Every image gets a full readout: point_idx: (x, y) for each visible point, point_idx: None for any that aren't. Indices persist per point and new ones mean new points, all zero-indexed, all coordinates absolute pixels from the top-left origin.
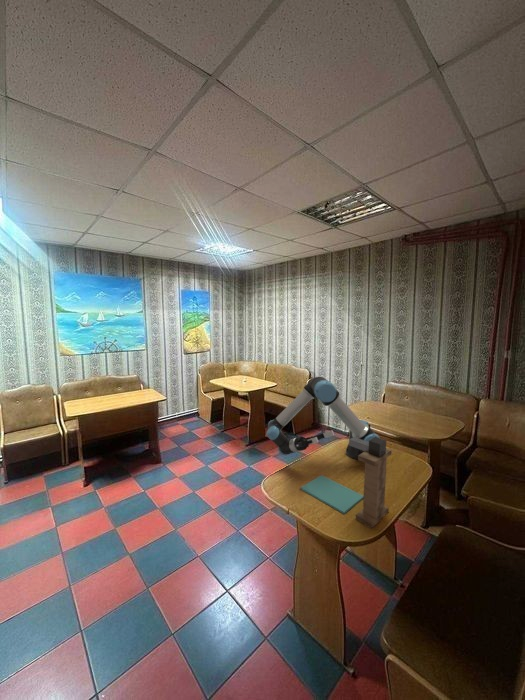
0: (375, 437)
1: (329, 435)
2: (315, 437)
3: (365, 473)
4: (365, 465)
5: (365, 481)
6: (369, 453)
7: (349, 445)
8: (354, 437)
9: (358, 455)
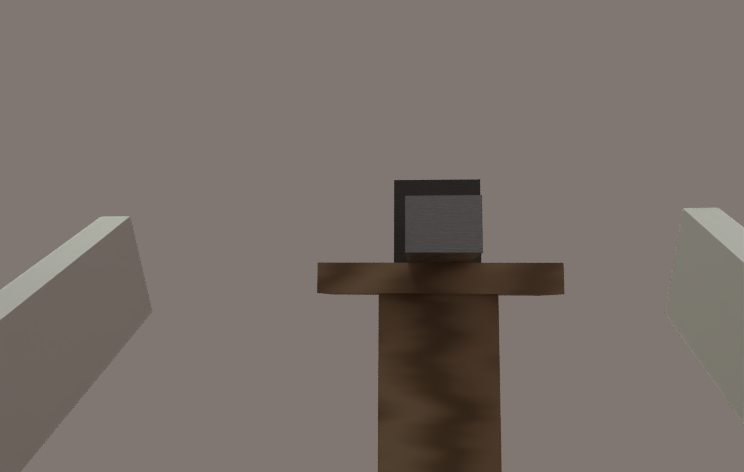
0: (404, 181)
1: (92, 354)
2: (722, 213)
3: (498, 402)
4: (498, 346)
5: (499, 460)
6: (480, 262)
7: (482, 252)
8: (410, 197)
9: (560, 263)
